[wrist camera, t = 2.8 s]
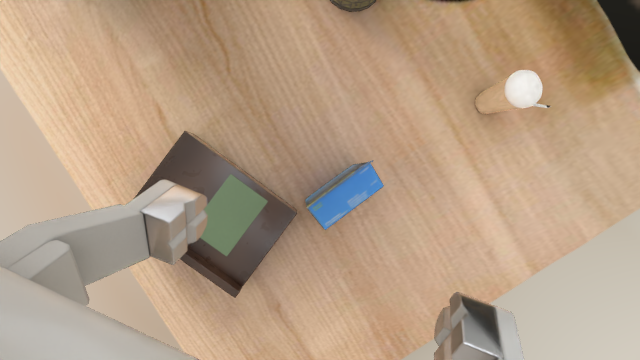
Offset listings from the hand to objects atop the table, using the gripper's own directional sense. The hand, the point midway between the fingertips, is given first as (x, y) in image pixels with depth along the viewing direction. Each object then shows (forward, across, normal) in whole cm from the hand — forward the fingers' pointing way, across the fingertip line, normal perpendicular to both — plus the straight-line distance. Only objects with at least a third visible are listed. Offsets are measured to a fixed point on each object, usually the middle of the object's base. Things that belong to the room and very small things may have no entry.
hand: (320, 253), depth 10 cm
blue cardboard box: (+30, +3, +19) cm, 36 cm away
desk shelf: (+23, +18, +24) cm, 38 cm away
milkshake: (+44, -13, +6) cm, 46 cm away
